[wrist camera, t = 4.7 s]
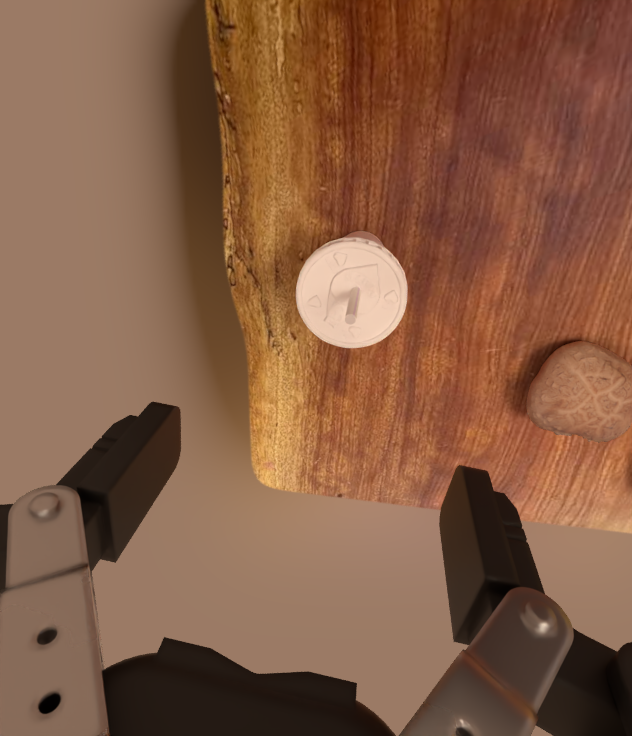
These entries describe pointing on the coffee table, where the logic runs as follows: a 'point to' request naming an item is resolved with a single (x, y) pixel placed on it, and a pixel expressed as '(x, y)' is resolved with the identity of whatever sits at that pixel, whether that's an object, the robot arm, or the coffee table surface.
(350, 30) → the coffee table surface
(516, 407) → the coffee table surface
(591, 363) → the mushroom
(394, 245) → the coffee table surface
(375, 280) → the smoothie
